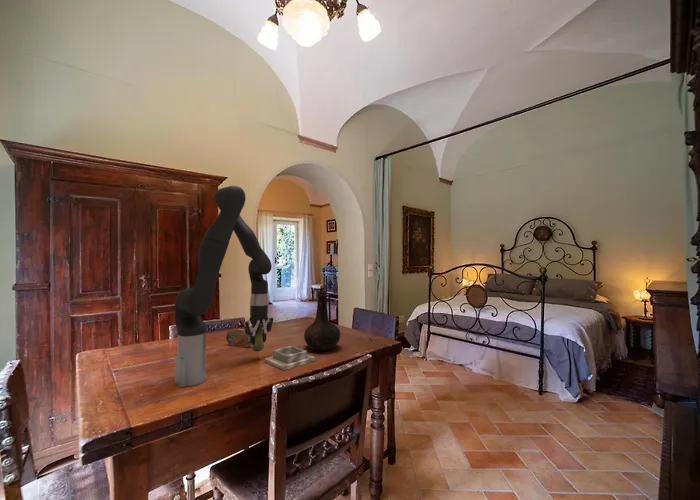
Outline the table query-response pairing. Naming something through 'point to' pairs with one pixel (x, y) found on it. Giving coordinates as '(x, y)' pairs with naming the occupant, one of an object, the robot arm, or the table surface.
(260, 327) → the fennel bulb
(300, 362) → the grey piece
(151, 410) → the table surface
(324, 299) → the glass bottle
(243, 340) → the tin
